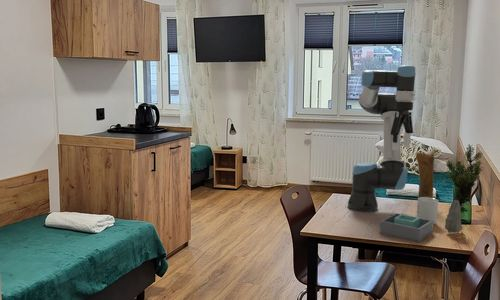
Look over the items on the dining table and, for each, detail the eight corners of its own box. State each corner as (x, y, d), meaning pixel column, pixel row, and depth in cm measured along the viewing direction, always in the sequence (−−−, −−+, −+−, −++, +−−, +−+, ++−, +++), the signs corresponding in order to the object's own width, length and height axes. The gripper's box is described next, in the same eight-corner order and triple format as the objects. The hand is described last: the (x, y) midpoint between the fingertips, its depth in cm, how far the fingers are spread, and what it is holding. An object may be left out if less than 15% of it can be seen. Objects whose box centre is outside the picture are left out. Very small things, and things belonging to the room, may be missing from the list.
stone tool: (459, 231, 209) (462, 198, 207) (463, 233, 206) (466, 200, 204) (441, 231, 208) (444, 198, 206) (445, 234, 205) (448, 200, 202)
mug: (439, 225, 217) (441, 201, 215) (420, 225, 217) (421, 201, 215) (429, 218, 229) (431, 195, 227) (411, 217, 229) (412, 195, 227)
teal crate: (393, 231, 203) (394, 217, 203) (400, 227, 210) (401, 214, 209) (412, 235, 199) (413, 221, 198) (418, 231, 205) (419, 217, 204)
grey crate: (379, 233, 203) (380, 221, 202) (394, 225, 216) (395, 213, 215) (418, 242, 193) (419, 229, 192) (432, 233, 206) (433, 220, 205)
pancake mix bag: (423, 210, 244) (428, 156, 240) (411, 201, 263) (415, 150, 259) (436, 210, 244) (441, 156, 240) (423, 201, 263) (427, 151, 259)
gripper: (402, 101, 199) (398, 152, 202) (422, 101, 218) (418, 147, 221) (384, 101, 203) (381, 150, 206) (406, 100, 223) (403, 145, 226)
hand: (400, 148), depth 214 cm, fingers open, 13 cm apart
